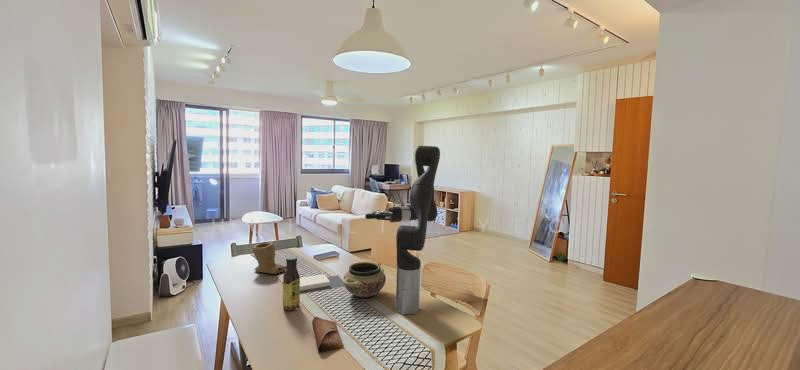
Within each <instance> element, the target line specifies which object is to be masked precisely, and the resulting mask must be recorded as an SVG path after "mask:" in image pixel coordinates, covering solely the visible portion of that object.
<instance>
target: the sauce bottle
mask: <svg viewBox="0 0 800 370" xmlns="http://www.w3.org/2000/svg"><path fill="white" fill-rule="evenodd" d="M285 263H286V266H287V268H286V270H285V271H284V273H283V277H282V278H283V280H282V281H283V282H282V307H283V310H285V311H289V312H290V311H294V310H297V309H298V308H299V306H300V297H301V296H300V295H301V294H300V278H301V276H300V274H299V271H298V269H297V268H298V267H297V263H298V257H296V256H287V257H285Z"/></svg>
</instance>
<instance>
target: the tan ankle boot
mask: <svg viewBox="0 0 800 370" xmlns="http://www.w3.org/2000/svg"><path fill="white" fill-rule="evenodd" d="M252 251H253V256H254V258H255V259H256V261H257V264H258V266H256V267H255V268H254V270H255V272H258V273H265V274H271V275H272V274H273V275H274V274H275V275H278V274H277V273H279V274H281V273H280V272H282V273H283V272H286V270H287V269H286V268H287V265H282V264H278V263H276V262H275V260H276V259H275V258H276V246H275V244H274V242H272V241H269V242H265V241H264V242H260V243H257V244H255V245H254V246H253V248H252Z"/></svg>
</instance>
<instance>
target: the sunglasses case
mask: <svg viewBox="0 0 800 370" xmlns="http://www.w3.org/2000/svg"><path fill="white" fill-rule="evenodd" d="M311 323H312V328H313V334H314V338H315V342H316V347H317V351H318V352H319V354H323V353H329V352H333V351H338V350H342V349H343V350H344V349H345V346H344V343H343V341H342V339H341V335H340V332H339V328H338V326H337V322H336V321H334V320H333V321H332V320H328V319H324V318H321V317H319V316H314V317H313V319H312V322H311Z"/></svg>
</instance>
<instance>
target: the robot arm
mask: <svg viewBox="0 0 800 370" xmlns="http://www.w3.org/2000/svg"><path fill="white" fill-rule="evenodd" d="M440 158H441V150H440V148H439V147H438V146H436V145H435V146H433V145H432V146H431V145H418V146H417V147H416V148H415V153H414V161H415V167H416V172H417V178H416V180H414V182H413V183H412V185H411V189H410V193H409V202H410V206H407V205H401V206H399V205H398V206H390V207H389V208H388V210H383V209H382V210H381V211H380V210H376V211H372V212H371V213H365V216H364V218H365V220H373V219H374V220H377V221H378V220H379V221H389V222H390V223H401V222H402V223H405V222H408V221H417V222H418V223H417V226H414V225H404V224H403V225H400V226H398V228H397V230H396V237H395V238H396V240H395V241H396V280H395V281H396V287H395V288H396V289H395V290H396V291H395V297H396V298H395V310H396V311H397V312H399V313H400V314H401V315H415V314H416V315H417V314H418V312H419V311H420V298H421V297H420V292H421V290H420V288H421V266H422V265H421V260H420V259H419V257H417V256H415V255H413V254H411V253H410V251H413V252H414V251H415V252H416V251H417V252H420V251H422V250H423V249H424V247H425V243H426V239H427V238H426V236H427V227H428V222H430V223H431V222H433V221H435V220H436V219H437V216H438V209H437V208H438V207H437V203H436V201H435V200H436V199H435V187H434V184H435V179H436V174H437V171H438V167H439V163H440ZM424 167H427V168H426V170H425V168H424Z"/></svg>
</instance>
